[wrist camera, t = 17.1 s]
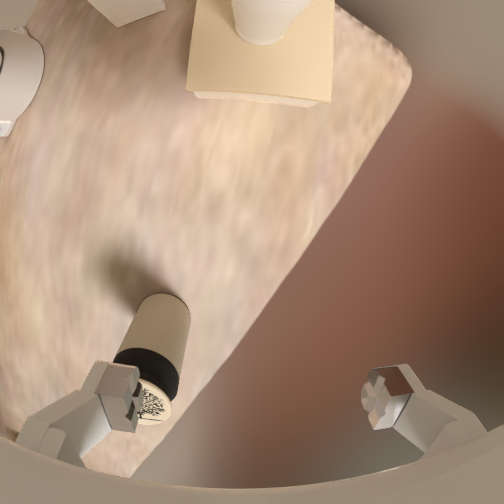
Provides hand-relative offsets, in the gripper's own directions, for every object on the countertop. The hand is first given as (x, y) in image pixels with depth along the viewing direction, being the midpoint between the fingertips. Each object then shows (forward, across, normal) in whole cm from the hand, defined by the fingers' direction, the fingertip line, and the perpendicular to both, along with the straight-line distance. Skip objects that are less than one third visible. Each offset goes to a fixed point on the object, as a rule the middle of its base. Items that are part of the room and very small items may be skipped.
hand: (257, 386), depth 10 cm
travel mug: (+31, +10, +17) cm, 37 cm away
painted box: (+31, -1, -20) cm, 37 cm away
